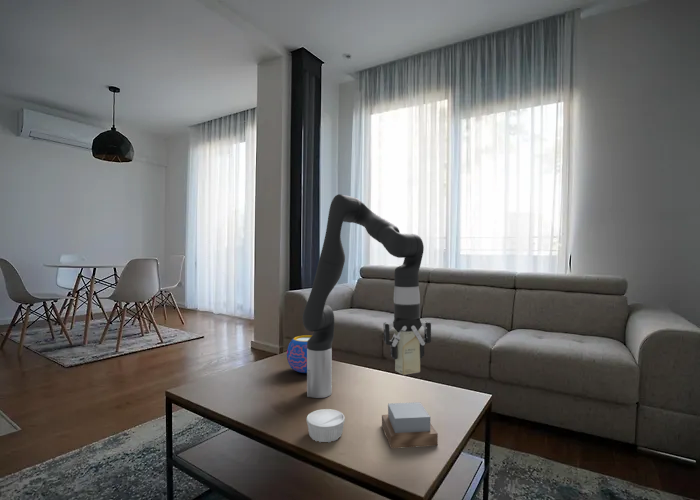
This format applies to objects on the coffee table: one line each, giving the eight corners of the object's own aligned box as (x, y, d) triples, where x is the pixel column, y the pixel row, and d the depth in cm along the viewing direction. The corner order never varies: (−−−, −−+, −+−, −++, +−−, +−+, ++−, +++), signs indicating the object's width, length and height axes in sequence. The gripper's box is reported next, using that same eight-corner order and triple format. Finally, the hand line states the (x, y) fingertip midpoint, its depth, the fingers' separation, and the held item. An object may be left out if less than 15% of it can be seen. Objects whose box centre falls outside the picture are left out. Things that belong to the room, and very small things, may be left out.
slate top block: (395, 433, 100) (395, 418, 100) (388, 416, 110) (388, 403, 110) (430, 431, 101) (430, 416, 101) (420, 415, 111) (420, 402, 111)
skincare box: (403, 375, 103) (402, 332, 103) (394, 371, 107) (393, 329, 107) (421, 371, 106) (420, 330, 106) (411, 367, 110) (411, 327, 110)
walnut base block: (391, 450, 99) (391, 436, 99) (381, 427, 112) (381, 414, 112) (437, 447, 100) (437, 433, 100) (422, 425, 113) (422, 412, 113)
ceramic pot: (333, 368, 167) (333, 335, 167) (313, 380, 150) (313, 344, 150) (300, 363, 174) (300, 332, 174) (278, 375, 158) (278, 340, 158)
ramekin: (340, 447, 100) (340, 427, 100) (301, 443, 101) (301, 424, 101) (347, 427, 111) (347, 410, 111) (312, 424, 112) (312, 407, 113)
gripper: (385, 304, 102) (386, 363, 102) (434, 302, 104) (435, 360, 103) (380, 300, 109) (380, 355, 109) (426, 299, 111) (427, 353, 111)
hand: (407, 358), depth 106 cm, fingers closed on skincare box, 7 cm apart
